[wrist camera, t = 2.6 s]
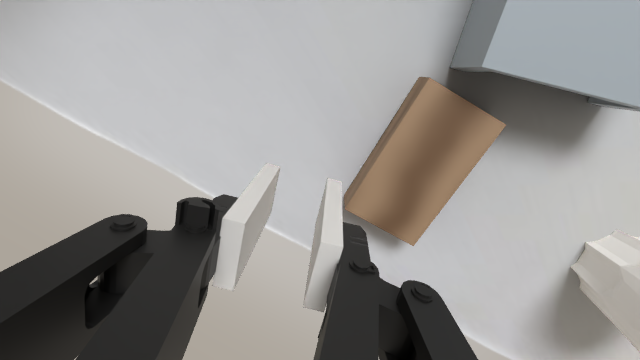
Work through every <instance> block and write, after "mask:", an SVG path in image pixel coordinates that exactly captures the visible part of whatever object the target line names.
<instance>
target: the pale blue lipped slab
mask: <svg viewBox="0 0 640 360" xmlns="http://www.w3.org/2000/svg"><path fill="white" fill-rule="evenodd" d="M450 68H453V69H457V70H461V71H465V72H495V73H499V74H503V75H507V76H511V77H515V78H519V79H523V80H527V81H531V82H535V83H539V84H543V85H547V86H550V87H554V88H558V89H562V90H566V91H570V92H574V93H578V94H582V95H586V96H590V98H589V100H588V102H587V103H591V104H595V105H599V106H603V107H610V108H618V109H625V110H633V111H640V0H473V3H472V6H471V9H470V12H469V15H468V17H467V20H466V23H465V26H464V29H463V31H462V34H461V37H460V40H459V43H458V46H457V48H456V51H455V54H454V57H453V60H452V63H451V65H450Z"/></svg>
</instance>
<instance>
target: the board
mask: <svg viewBox="0 0 640 360" xmlns="http://www.w3.org/2000/svg"><path fill="white" fill-rule="evenodd" d="M505 126H506V124H504V123H503V122H501V121H499V120H498V119H496V118H494V117H493V116H491V115H490V114H488V113H486V112H485V111H483V110H481V109H480V108H478V107H477V106H475V105H473V104H472V103H470V102H468V101H467V100H465V99H464V98H462V97H460V96H459V95H457V94H455V93H454V92H452V91H450V90H449V89H447V88H446V87H444V86H442V85H441V84H439V83H437V82H436V81H434V80H433V79H431V78H427V77H419V78H418V80H417V81H416V83H415V84H414V86H413V88H412V89H411V91H410V92H409V94H408V95H407V97H406V99H405V100H404V102H403V103H402V105H401V106H400V108H399V110H398V111H397V113H396V114H395V116H394V117H393V119H392V121H391V122H390V124H389V125H388V127H387V129H386V130H385V132H384V133H383V135H382V136H381V138H380V140H379V141H378V143H377V144H376V146H375V147H374V149H373V151H372V152H371V154H370V155H369V157H368V158H367V160H366V162H365V163H364V165H363V166H362V168H361V170H360V171H359V173H358V174H357V176H356V177H355V179H354V181H353V182H352V184H351V185H350V187H349V188H348V190H347V192H346V193H345V195H344V204H345V210H347V211H349V212H351V213H353V214H355V215H357V216H358V217H360V218H362V219H364V220H366V221H368V222H370V223H371V224H373V225H375V226H377V227H379V228H381V229H383V230H384V231H386V232H388V233H390V234H392V235H394V236H396V237H397V238H399V239H401V240H403V241H405V242H407V243H409V244H410V245H412V246H414V245H415V243H416V242H417V241H418V239H419V238H420V237H421V236H422V234H423V233H424V232H425V230H426V229H427V228H428V226H429V225H430V224H431V222H432V221H433V220H434V219H435V217H436V216H437V215H438V213H439V212H440V211H441V209H442V208H443V207H444V206H445V204H446V203H447V202H448V200H449V199H450V198H451V196H452V195H453V194H454V193H455V191H456V190H457V189H458V187H459V186H460V185H461V183H462V182H463V181H464V179H465V178H466V177H467V176H468V174H469V173H470V172H471V170H472V169H473V168H474V166H475V165H476V164H477V163H478V161H479V160H480V159H481V157H482V156H483V155H484V153H485V152H486V151H487V150H488V148H489V147H490V146H491V144H492V143H493V142H494V140H495V139H496V138H497V136H498V135H499V134H500V133H501V131H502V130H503V129H504V127H505Z"/></svg>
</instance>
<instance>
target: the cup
mask: <svg viewBox="0 0 640 360" xmlns="http://www.w3.org/2000/svg"><path fill="white" fill-rule="evenodd" d="M571 268H572V269H573V270H574V271H575V272H576V273H577V274H578V277H579V279H580V281H581V282H580V289H581V290H582V291H583V292H584V293H585V295H586V296H587V297H588V298H589V299H590V300H591V301H592V302H593V303H594V304H595V305H596V306H597V307H598V308H599V309H600V310H601V311H602V312H603V313H604V315H605V316H606V317H607V318H608V319H609V320H610V321H611V322H612V323H613V324H614V325H615V326H616V327H617V328H618V329H619V330H620V332H621V333H622V334H623V335H624V336H625V337H626V338H627V339H628V340H629V341H630V342H631V344H632V345H633V346H634V347H635V348H636V349H637V350H638V351H639V352H640V237H633V236H630V235H628V234H626V233H624V232H622V231H620V230H618V229H616V230H615V231H614V232H613V233H612V234H611V235H609V236H606V237H604V238H602V239H599V240H597V241H594V242H585V250H584V251H583V253H582V255H581V256H580V258H579V259H578V261H577V262H576V263H575V264H573V265H572V266H571Z"/></svg>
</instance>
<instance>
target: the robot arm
mask: <svg viewBox="0 0 640 360" xmlns="http://www.w3.org/2000/svg"><path fill="white" fill-rule="evenodd" d="M279 171H280V166H276V165H272V164H268V163H266V164H265V165H264V166H263V168H262V169H261V170H260V171H259V173H258V174H257V175H256V176H255V178H254V179H253V180H252V182H251V183H250V184H249V185H248V187H247V188H246V189H245V190H244V192H243V193H242V194H241V195H240V197H239V198H237V197H233V196H228V195H221V196H218V197H216V198H214V199H213V200H209V199H206V198H198V197H193V198H186V199H182V200H180V201H179V202H177V211H176V222H175V226H174V227H173V229H172V230H171V231H156V230H147V222H146V220H145V219H143V218H141V217H139V216H134V215H130V214H127V215H126V214H121V215H116V216H111V217H108V218H105V219H103V220H101V221H99V222H97V223H95V224H93V225H91V226H89V227H87V228H85V229H83V230H82V231H80V232H78V233H76V234H74V235H72V236H70V237H68V238H66V239H64V240H62V241H60V242H58V243H56V244H54V245H52V246H50V247H48V248H46V249H44V250H42V251H40V252H38V253H36V254H35V255H33V256H31V257H29V258H27V259H25V260H23V261H21V262H19V263H17V264H15V265H13V266H11V267H9V268H7V269H5V270H3V271H2V272H0V360H74V359H75V358H76V357H77V356H78V355H79V356H78V357H77V358H76V360H182V358H183V356H184V353H185V351H186V348H187V345H188V343H189V340H190V338H191V335H192V333H193V330H194V327H195V325H196V322H197V319H198V317H199V314H200V312H201V309H202V306H203V304H204V301H205V298H206V296H207V291H208V284H209V281H210V280H211V278H212V277H213V275H214V278H213V285H212V286H214V287H218V288H222V289H227V290H231V291H233V290H234V289H235V286H236V284H237V282H238V280H239V278H240V276H241V274H242V272H243V270H244V268H245V265H246V264H247V261H248V259H249V257H250V255H251V253H252V251H253V249H254V247H255V245H256V243H257V241H258V239H259V237H260V234H261V232H262V230H263V228H264V226H265V224H266V222H267V220H268V218H269V216H270V214H271V210H272V205H273V200H274V195H275V190H276V186H277V181H278V176H279ZM97 276H98V280H96V281H95V282H94V283H92V284H90V282H92V281H93V280H94V278H96V277H97ZM89 284H90V285H89ZM326 303H327V308H326V313H325V316H324V319H323V323H322V326H321V329H320V332H319V336H318V338H319V339H318V343H317V348H316V352H315V356H314V360H378V355H379V359H380V360H478V359H477V357H476V355H475V354H474V352H473V350H472V349H471V347H470V345H469V344H468V342H467V340H466V338H465V337H464V335H463V333H462V332H461V330H460V328H459V327H458V325H457V323H456V322H455V320H454V318H453V316H452V315H451V313H450V311H449V310H448V308H447V306H446V305H445V303H444V301H443V299H442V298H441V296H440V295H439V294H438V293H437V292H436V291H435V290H434V289H432V288H431V287H430V286H428V285H427V284H425V283H422V282H418V281H411V280H408V281H406V282H403V284H402V286H401V288H399V287H396V286H394V285H392V284H390V283H388V282H386V281H384V280H383V279H381V278H380V277H379V271H378V268H377V267H376V266H375V265H374V263H372V262H371V261H370V255H369V249H368V243H367V237H366V233H365V231H364V230H363V229H362V228H361V226H357V225H353V224H349V223H344V222H343V216H342V181H338V180H334V179H330V178H327V182H326V186H325V190H324V194H323V197H322V201H321V205H320V209H319V213H318V217H317V221H316V225H315V232H314V238H313V245H312V252H311V259H310V265H309V271H308V278H307V284H306V291H305V298H304V304H303V307H304V308H308V309H313V310H317V311H321V312H324V310H325V306H326Z"/></svg>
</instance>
